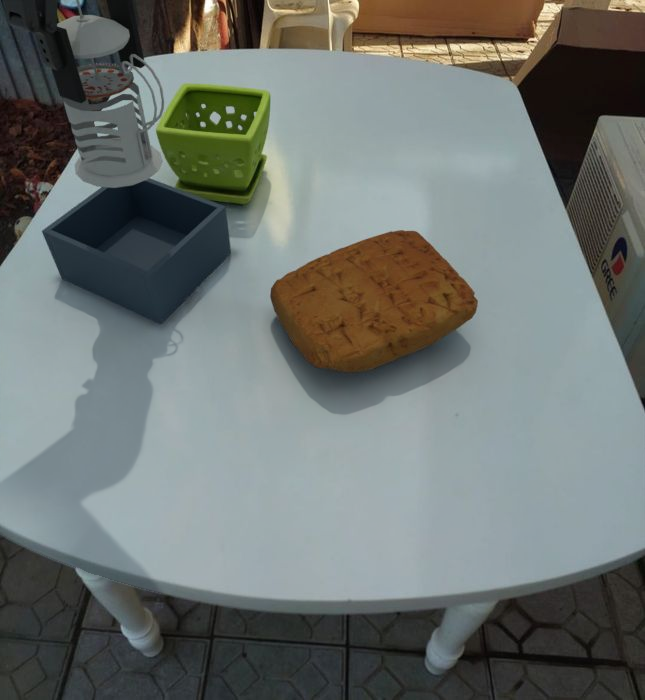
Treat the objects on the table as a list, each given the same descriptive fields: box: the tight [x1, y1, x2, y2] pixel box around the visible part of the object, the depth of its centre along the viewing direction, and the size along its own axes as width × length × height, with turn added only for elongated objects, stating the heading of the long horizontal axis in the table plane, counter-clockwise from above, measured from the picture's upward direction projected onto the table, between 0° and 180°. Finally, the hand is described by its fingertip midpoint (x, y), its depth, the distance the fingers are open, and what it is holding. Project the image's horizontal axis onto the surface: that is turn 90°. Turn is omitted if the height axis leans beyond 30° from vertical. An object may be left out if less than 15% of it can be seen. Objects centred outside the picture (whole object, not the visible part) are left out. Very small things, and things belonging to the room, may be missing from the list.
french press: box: [57, 0, 165, 188], centre depth 57 cm, size 10×12×25 cm
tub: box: [41, 177, 232, 325], centre depth 77 cm, size 17×16×8 cm
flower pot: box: [155, 82, 271, 206], centre depth 88 cm, size 14×14×13 cm
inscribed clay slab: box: [269, 229, 479, 374], centre depth 71 cm, size 22×17×8 cm
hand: (104, 80), depth 60 cm, fingers closed on french press, 8 cm apart
